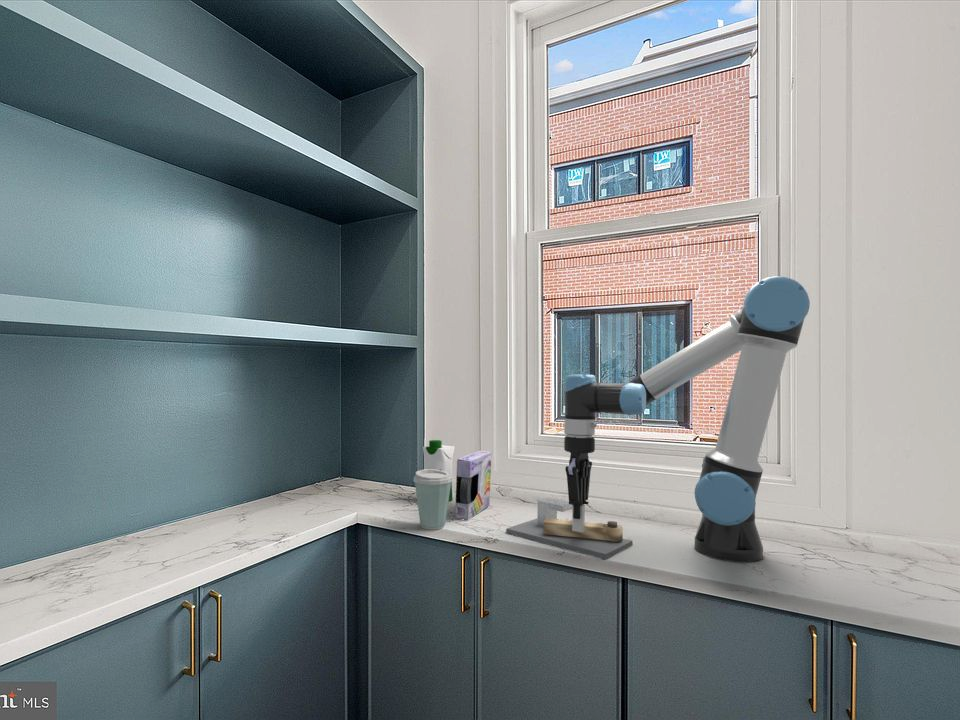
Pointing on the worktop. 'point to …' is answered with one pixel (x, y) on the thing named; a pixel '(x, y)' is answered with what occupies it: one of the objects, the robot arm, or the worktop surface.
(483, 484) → the cake pan box
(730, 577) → the worktop surface
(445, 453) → the milk carton
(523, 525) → the board
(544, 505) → the block
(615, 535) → the brass link
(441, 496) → the disposable coffee cup
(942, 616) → the worktop surface
